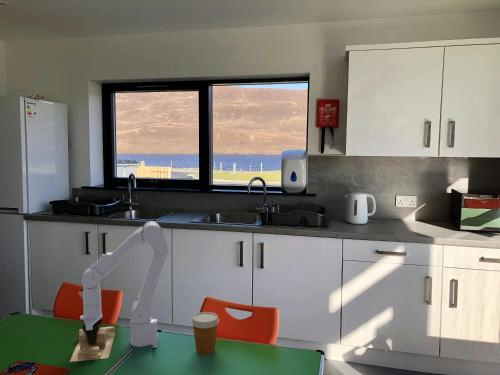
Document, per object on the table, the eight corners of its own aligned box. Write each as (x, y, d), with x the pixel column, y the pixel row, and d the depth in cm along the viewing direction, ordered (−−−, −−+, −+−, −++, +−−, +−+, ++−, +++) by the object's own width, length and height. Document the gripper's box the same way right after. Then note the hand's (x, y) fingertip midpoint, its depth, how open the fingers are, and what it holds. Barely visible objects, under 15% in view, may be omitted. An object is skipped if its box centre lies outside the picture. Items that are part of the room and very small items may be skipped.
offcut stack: (101, 355, 133) (101, 345, 133) (100, 358, 131) (100, 348, 131) (79, 357, 131) (78, 348, 131) (77, 360, 130) (77, 350, 129)
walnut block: (106, 342, 141) (106, 328, 141) (104, 347, 137) (104, 333, 137) (82, 344, 139) (82, 330, 139) (80, 349, 136) (79, 335, 135)
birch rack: (114, 338, 148) (114, 326, 147) (108, 360, 131) (108, 347, 131) (79, 341, 145) (79, 329, 145) (69, 364, 129) (69, 351, 129)
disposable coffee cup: (186, 353, 137) (185, 319, 136) (201, 341, 145) (201, 309, 144) (209, 359, 132) (209, 324, 131) (224, 347, 141) (224, 314, 140)
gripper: (83, 296, 143) (85, 333, 144) (75, 312, 129) (76, 352, 130) (104, 295, 145) (105, 331, 146) (98, 310, 131) (99, 350, 132)
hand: (93, 341), depth 138 cm, fingers closed on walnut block, 4 cm apart
